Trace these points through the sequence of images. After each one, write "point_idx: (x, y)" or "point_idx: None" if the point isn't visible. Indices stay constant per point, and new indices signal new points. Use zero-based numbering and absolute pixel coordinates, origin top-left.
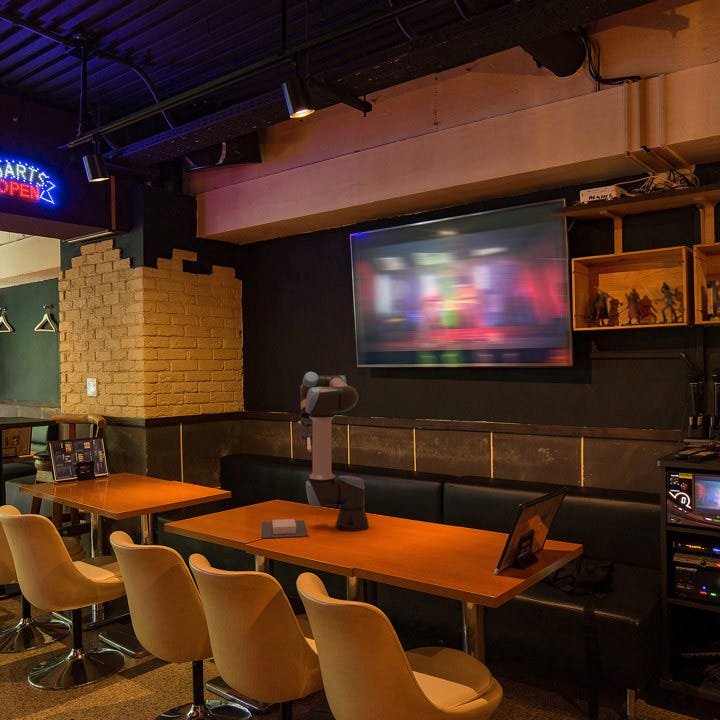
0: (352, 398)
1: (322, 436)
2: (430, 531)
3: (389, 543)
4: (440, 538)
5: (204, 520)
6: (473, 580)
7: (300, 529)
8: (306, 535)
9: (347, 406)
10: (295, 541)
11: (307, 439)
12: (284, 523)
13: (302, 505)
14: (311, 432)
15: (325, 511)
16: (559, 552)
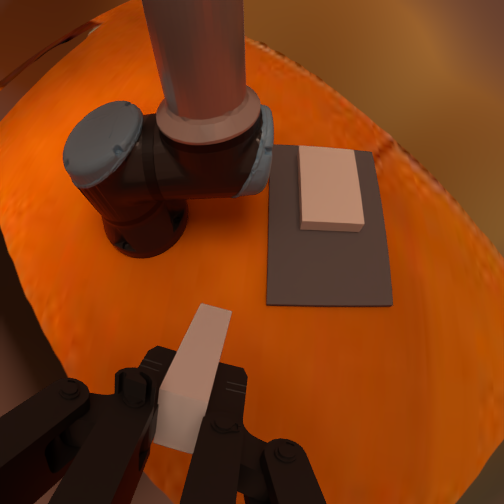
0: None
1: None
2: (33, 164)
3: (130, 99)
4: (49, 123)
5: None
6: (128, 13)
7: (285, 192)
8: (273, 145)
9: None
10: (298, 129)
11: (208, 382)
12: (329, 177)
13: None
14: (98, 449)
15: (177, 455)
16: (4, 80)
